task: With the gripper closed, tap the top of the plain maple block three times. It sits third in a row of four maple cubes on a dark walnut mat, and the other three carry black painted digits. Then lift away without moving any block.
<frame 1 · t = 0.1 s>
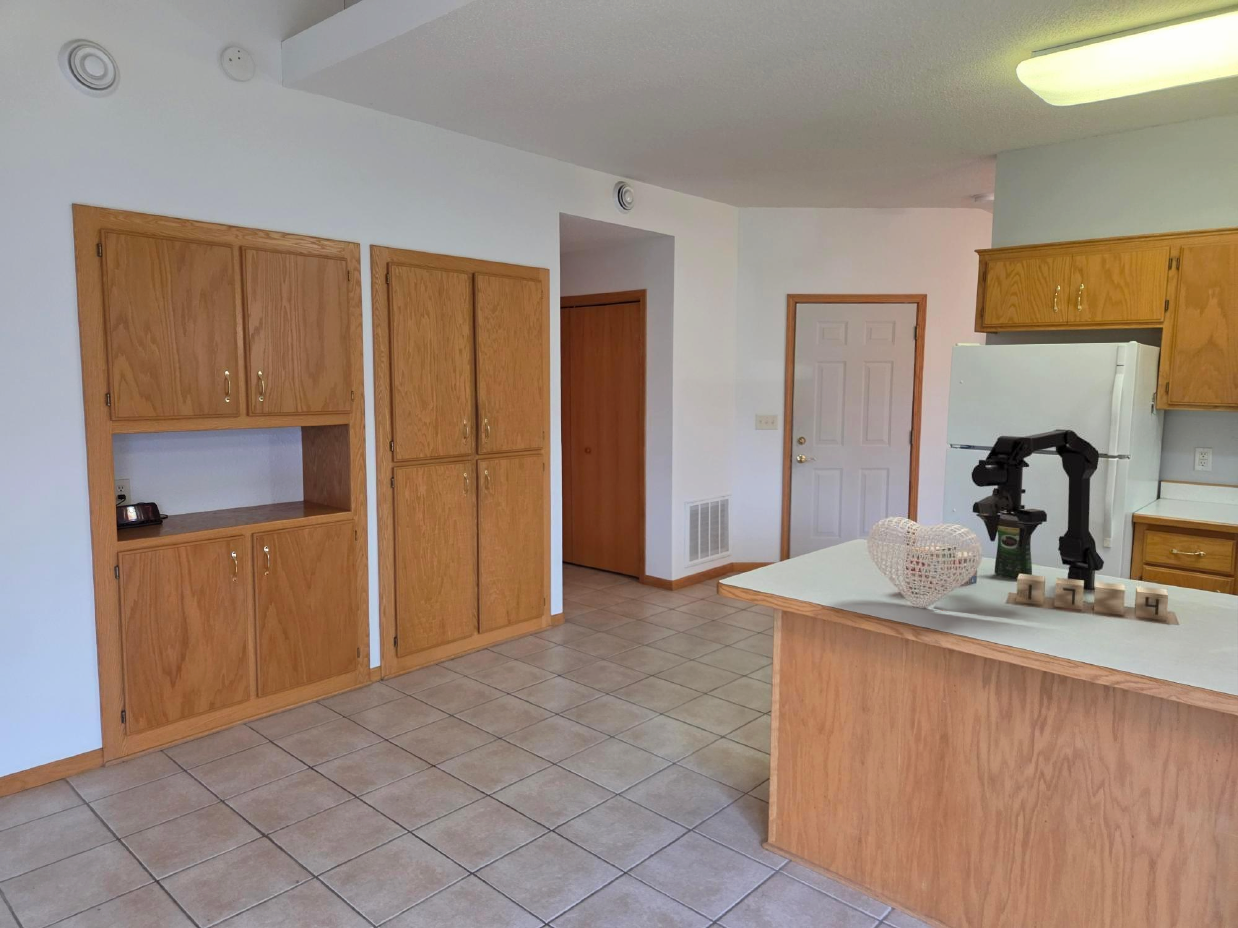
hand: (1006, 544, 204), 15 cm above the table, tool pointing down, fingers open, 9 cm apart
coffee jar: (1012, 576, 230), on the table
heart: (920, 608, 198), on the table
block seven: (1068, 604, 196), point 1 cm above the table, touching walnut mat
walnut mat: (1088, 611, 194), on the table
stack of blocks: (941, 589, 217), on the table
block four: (1150, 614, 187), point 1 cm above the table, touching walnut mat
block one: (1030, 600, 201), point 1 cm above the table, touching walnut mat
plain block: (1108, 609, 192), point 1 cm above the table, touching walnut mat
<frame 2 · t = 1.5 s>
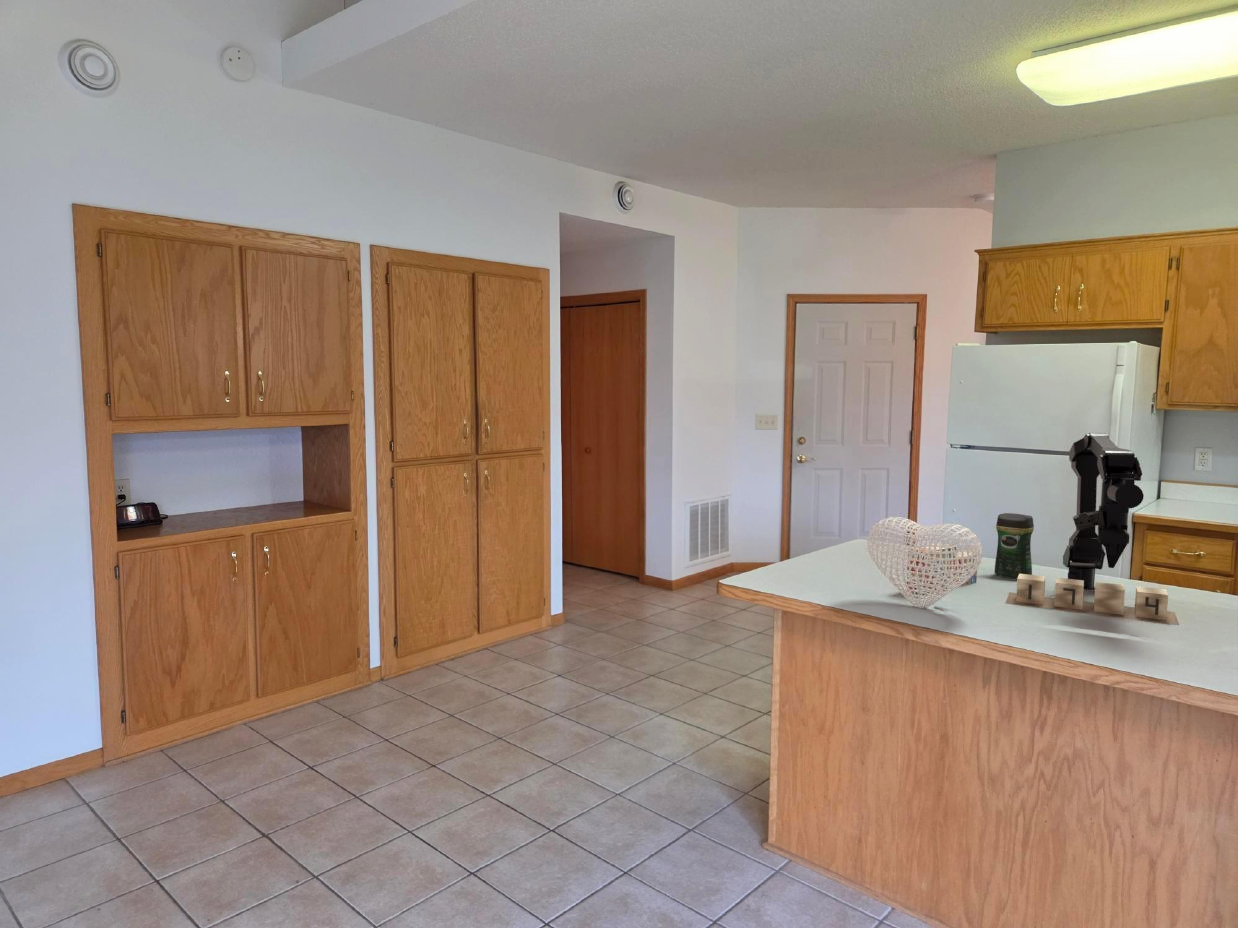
hand: (1110, 565, 191), 12 cm above the table, tool pointing down, fingers open, 5 cm apart
nothing on the table moved.
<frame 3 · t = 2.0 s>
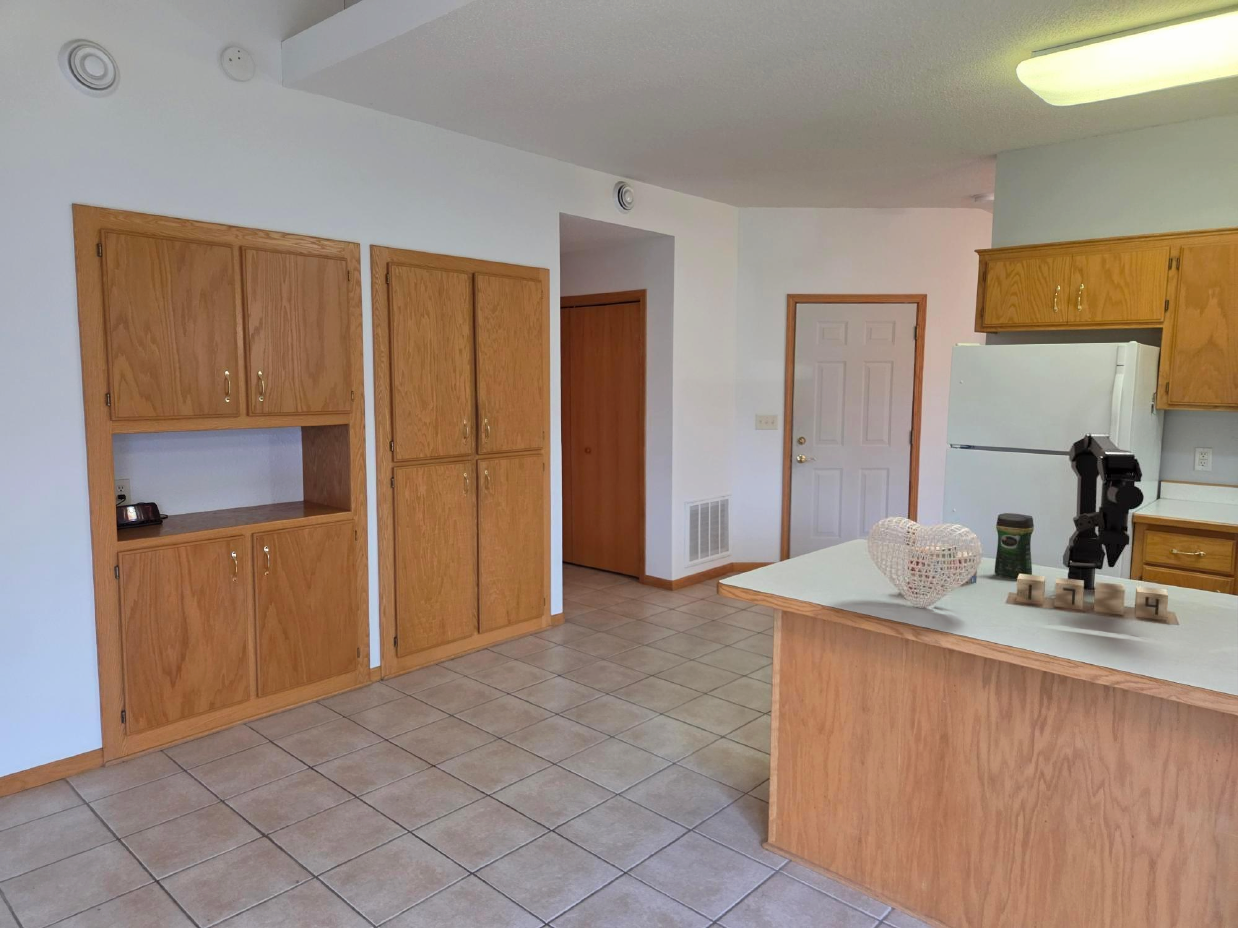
hand: (1110, 566, 191), 12 cm above the table, tool pointing down, fingers closed
nothing on the table moved.
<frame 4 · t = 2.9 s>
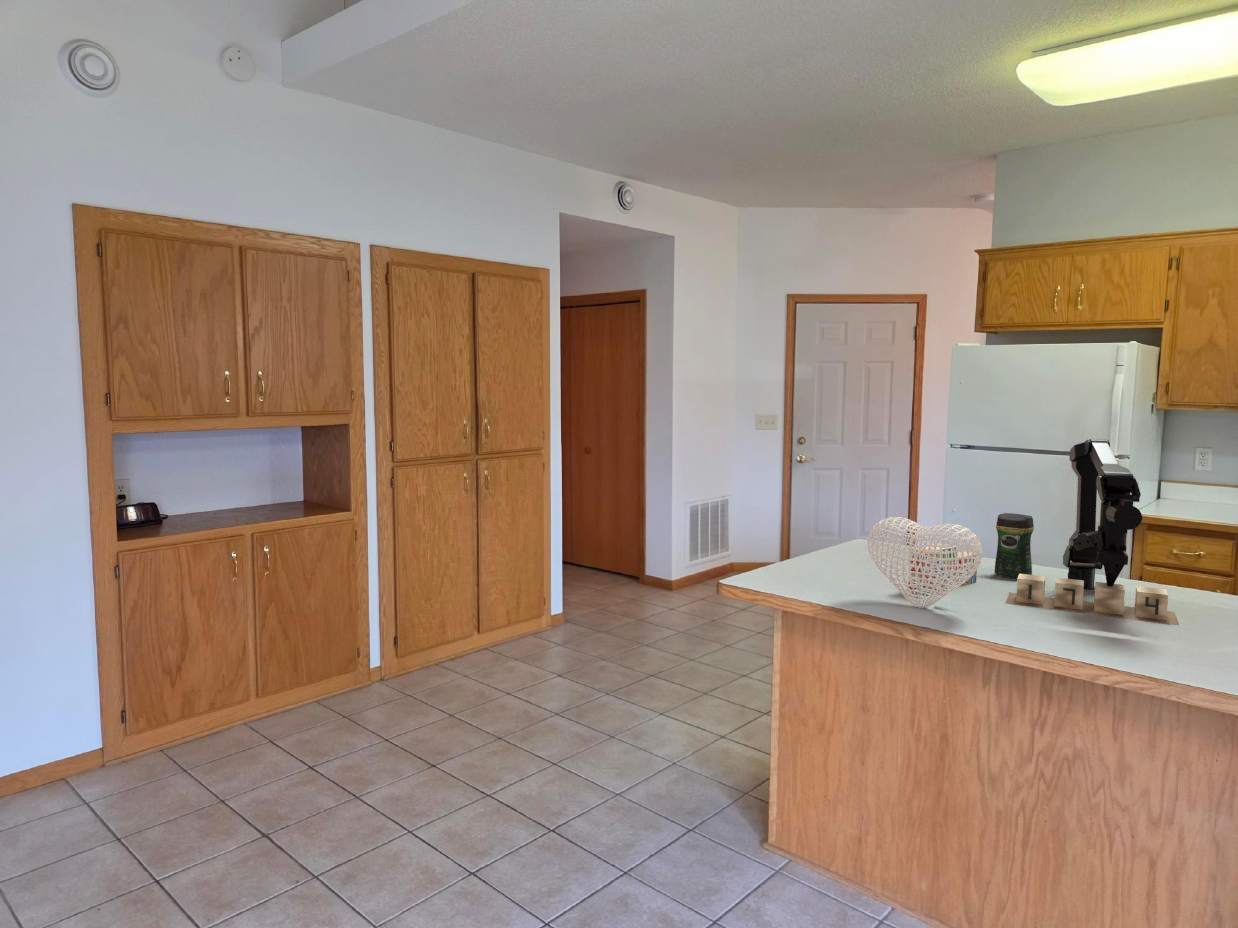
hand: (1109, 585, 191), 7 cm above the table, tool pointing down, fingers closed, pressing on plain block
plain block: (1108, 609, 192), point 1 cm above the table, touching gripper, walnut mat
everything else where it was.
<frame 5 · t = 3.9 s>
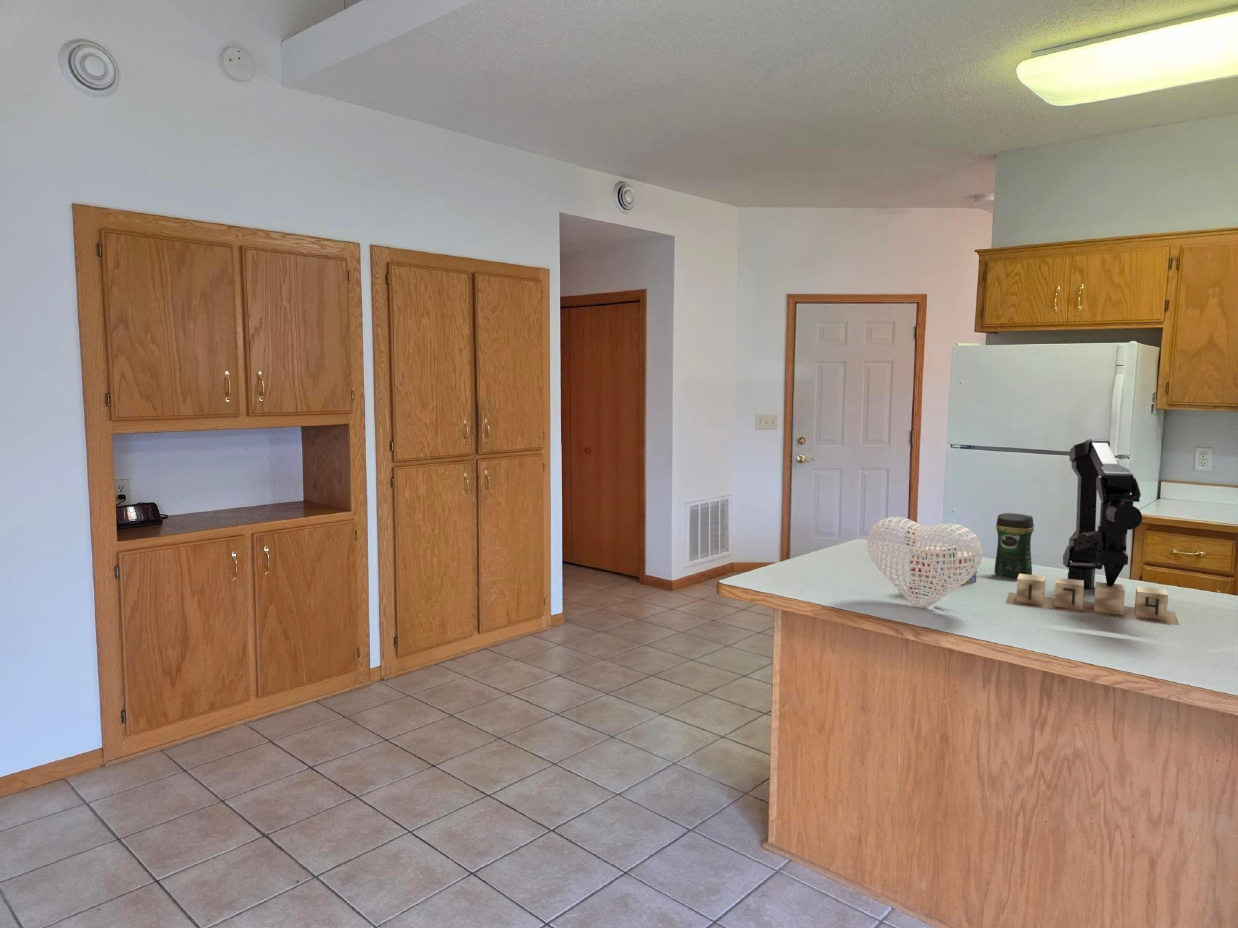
hand: (1109, 585, 191), 7 cm above the table, tool pointing down, fingers closed, pressing on plain block
plain block: (1108, 609, 192), point 1 cm above the table, touching gripper, walnut mat
everything else where it was.
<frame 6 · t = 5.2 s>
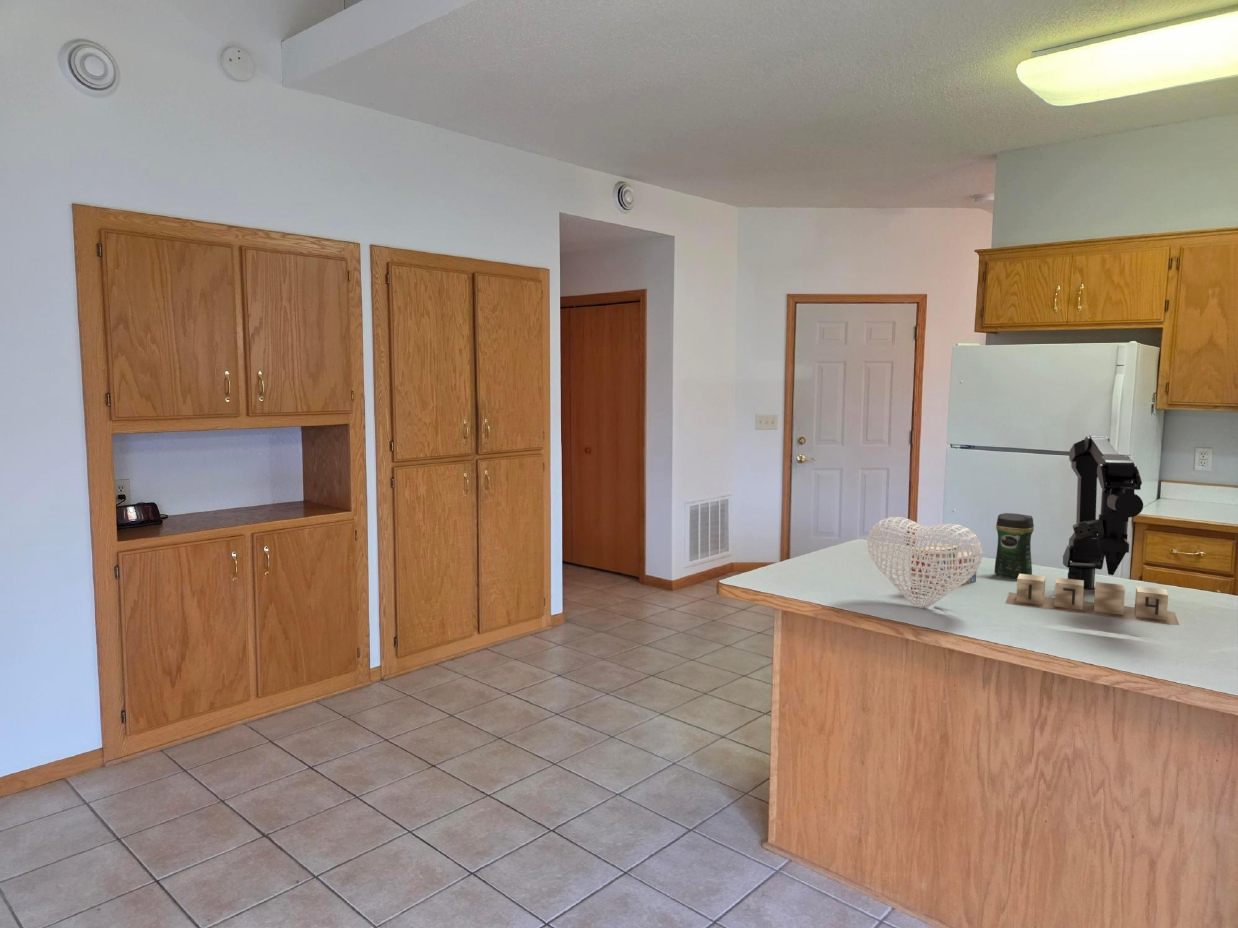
hand: (1110, 574, 191), 10 cm above the table, tool pointing down, fingers closed
plain block: (1108, 609, 192), point 1 cm above the table, touching walnut mat
everything else where it was.
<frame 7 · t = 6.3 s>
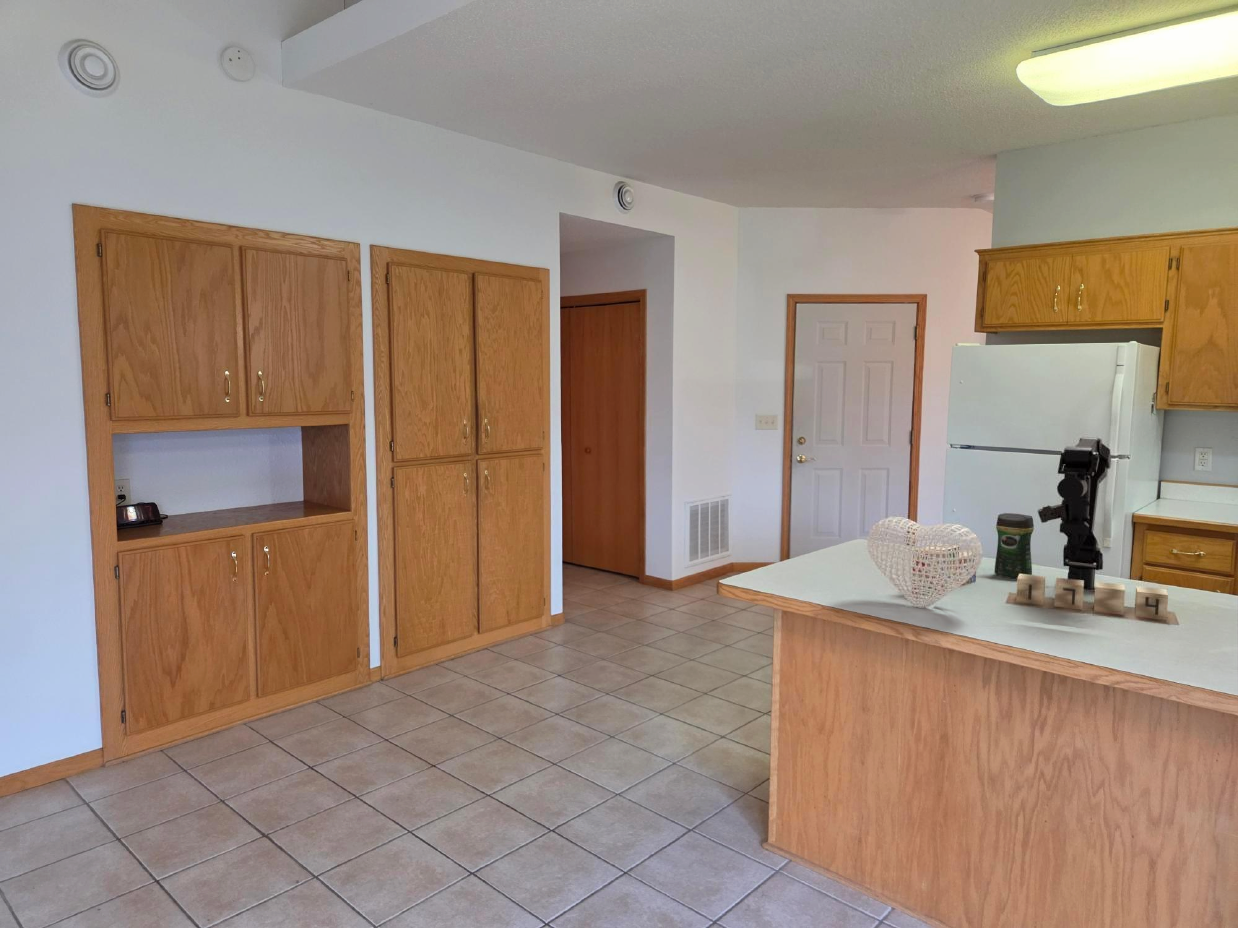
hand: (1073, 556, 202), 12 cm above the table, tool pointing down, fingers closed
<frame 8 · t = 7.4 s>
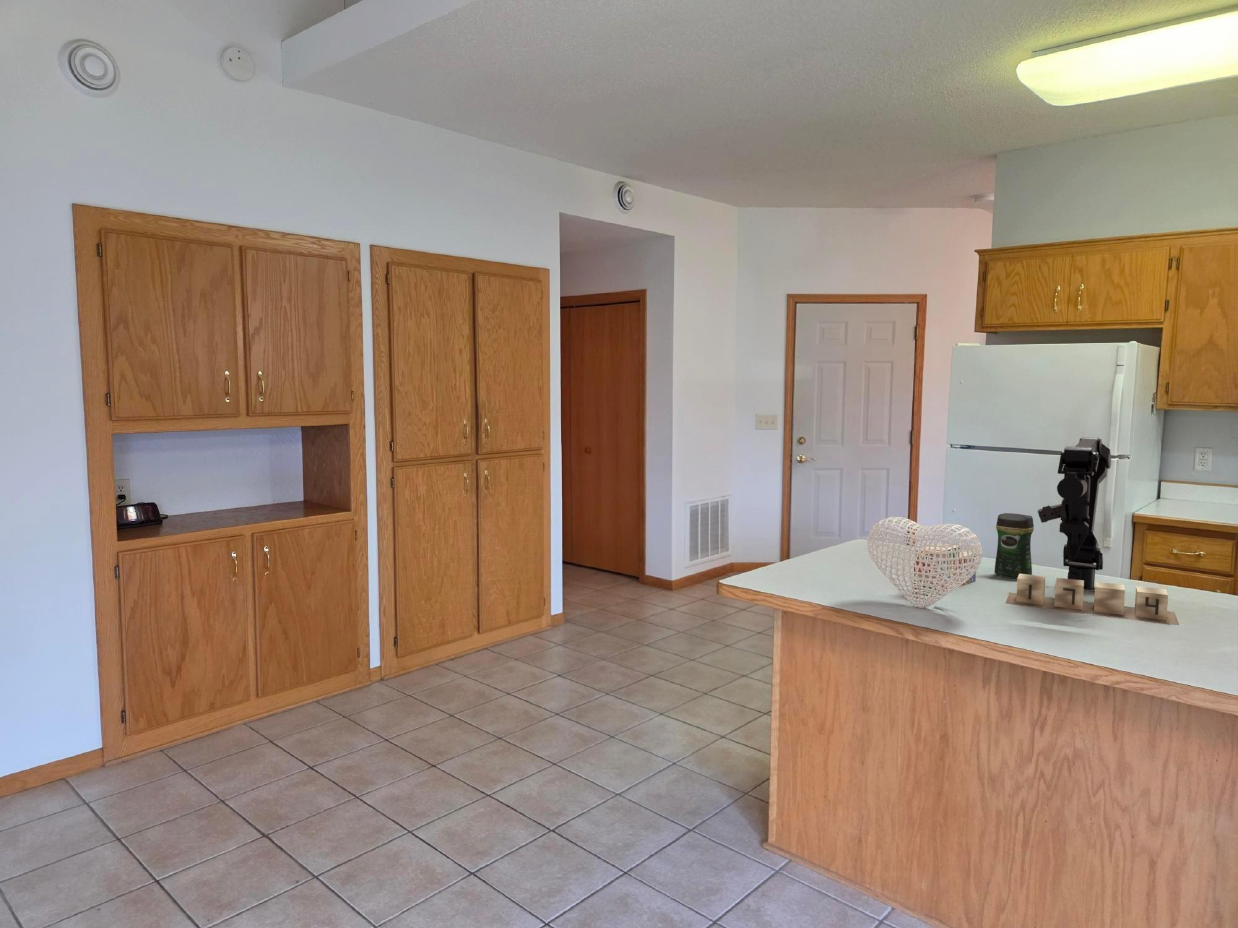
hand: (1073, 556, 202), 12 cm above the table, tool pointing down, fingers closed
at the end: plain block moved 0.0 cm from its start; plain block tilted 0°; block seven moved 0.0 cm from its start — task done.
